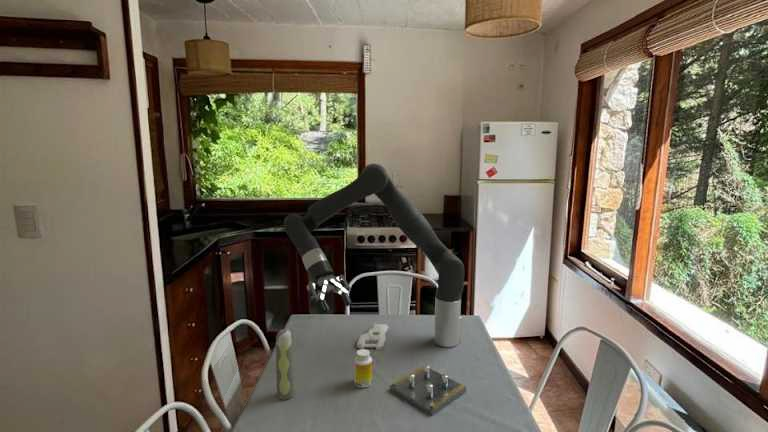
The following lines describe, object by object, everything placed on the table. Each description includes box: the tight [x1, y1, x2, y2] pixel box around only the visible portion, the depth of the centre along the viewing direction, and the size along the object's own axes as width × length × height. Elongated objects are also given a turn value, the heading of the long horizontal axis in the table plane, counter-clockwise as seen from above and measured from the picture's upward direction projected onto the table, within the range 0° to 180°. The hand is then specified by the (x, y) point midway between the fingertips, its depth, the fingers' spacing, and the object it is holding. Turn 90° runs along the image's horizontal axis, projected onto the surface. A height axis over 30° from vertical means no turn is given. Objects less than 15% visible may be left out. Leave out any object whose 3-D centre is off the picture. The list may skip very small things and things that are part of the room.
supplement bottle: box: [353, 348, 373, 389], centre depth 124 cm, size 6×6×10 cm
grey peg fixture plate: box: [389, 364, 467, 416], centre depth 121 cm, size 16×16×5 cm
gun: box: [356, 323, 389, 351], centre depth 153 cm, size 18×4×10 cm
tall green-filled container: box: [275, 328, 295, 401], centre depth 117 cm, size 5×5×20 cm
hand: (338, 308), depth 130 cm, fingers open, 8 cm apart
